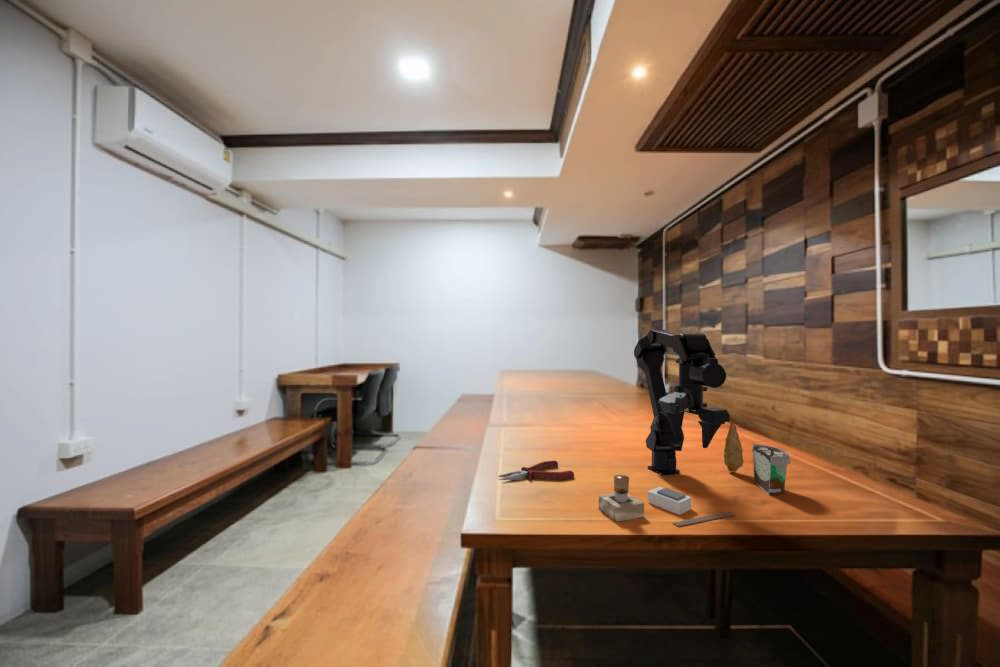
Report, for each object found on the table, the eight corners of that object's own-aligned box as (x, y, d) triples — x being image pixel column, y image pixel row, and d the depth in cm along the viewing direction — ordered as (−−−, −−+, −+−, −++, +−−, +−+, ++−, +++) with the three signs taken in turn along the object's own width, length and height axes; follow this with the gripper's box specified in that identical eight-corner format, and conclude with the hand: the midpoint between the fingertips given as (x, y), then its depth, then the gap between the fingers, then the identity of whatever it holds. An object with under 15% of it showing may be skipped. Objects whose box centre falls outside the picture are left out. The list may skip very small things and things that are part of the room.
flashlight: (622, 508, 95) (622, 473, 95) (631, 514, 92) (631, 478, 92) (610, 510, 94) (611, 475, 94) (619, 516, 91) (619, 480, 91)
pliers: (493, 475, 118) (493, 466, 118) (555, 467, 125) (556, 458, 125) (507, 490, 107) (508, 480, 107) (575, 480, 114) (575, 471, 114)
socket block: (598, 508, 95) (598, 495, 95) (624, 504, 97) (624, 491, 97) (617, 521, 88) (617, 507, 88) (644, 516, 91) (644, 503, 91)
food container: (799, 499, 100) (800, 458, 100) (771, 497, 101) (772, 457, 101) (776, 481, 112) (777, 444, 112) (751, 479, 114) (752, 443, 113)
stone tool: (738, 470, 121) (738, 419, 121) (744, 473, 119) (744, 421, 118) (722, 471, 120) (722, 419, 120) (727, 474, 118) (728, 421, 118)
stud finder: (647, 503, 98) (647, 489, 98) (659, 498, 101) (659, 484, 101) (679, 516, 92) (679, 500, 92) (691, 510, 95) (691, 495, 95)
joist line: (672, 523, 87) (672, 522, 87) (729, 512, 93) (729, 511, 93) (678, 526, 86) (678, 525, 86) (734, 515, 92) (734, 514, 92)
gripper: (640, 379, 112) (640, 437, 112) (695, 388, 94) (694, 457, 94) (673, 378, 116) (673, 433, 116) (731, 386, 98) (731, 452, 98)
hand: (690, 443), depth 106 cm, fingers open, 9 cm apart
